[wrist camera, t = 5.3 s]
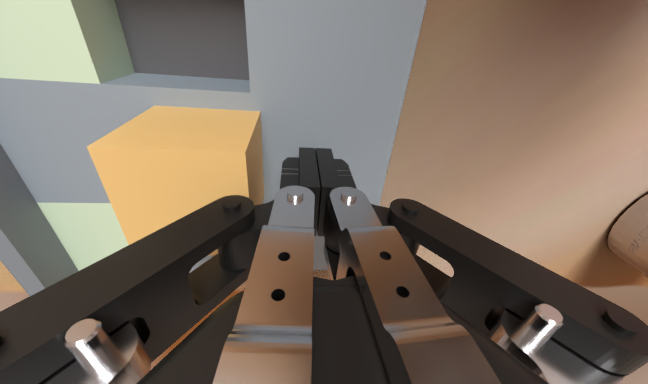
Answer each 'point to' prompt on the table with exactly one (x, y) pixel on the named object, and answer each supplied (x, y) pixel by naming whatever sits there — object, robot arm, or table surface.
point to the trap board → (183, 101)
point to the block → (178, 164)
